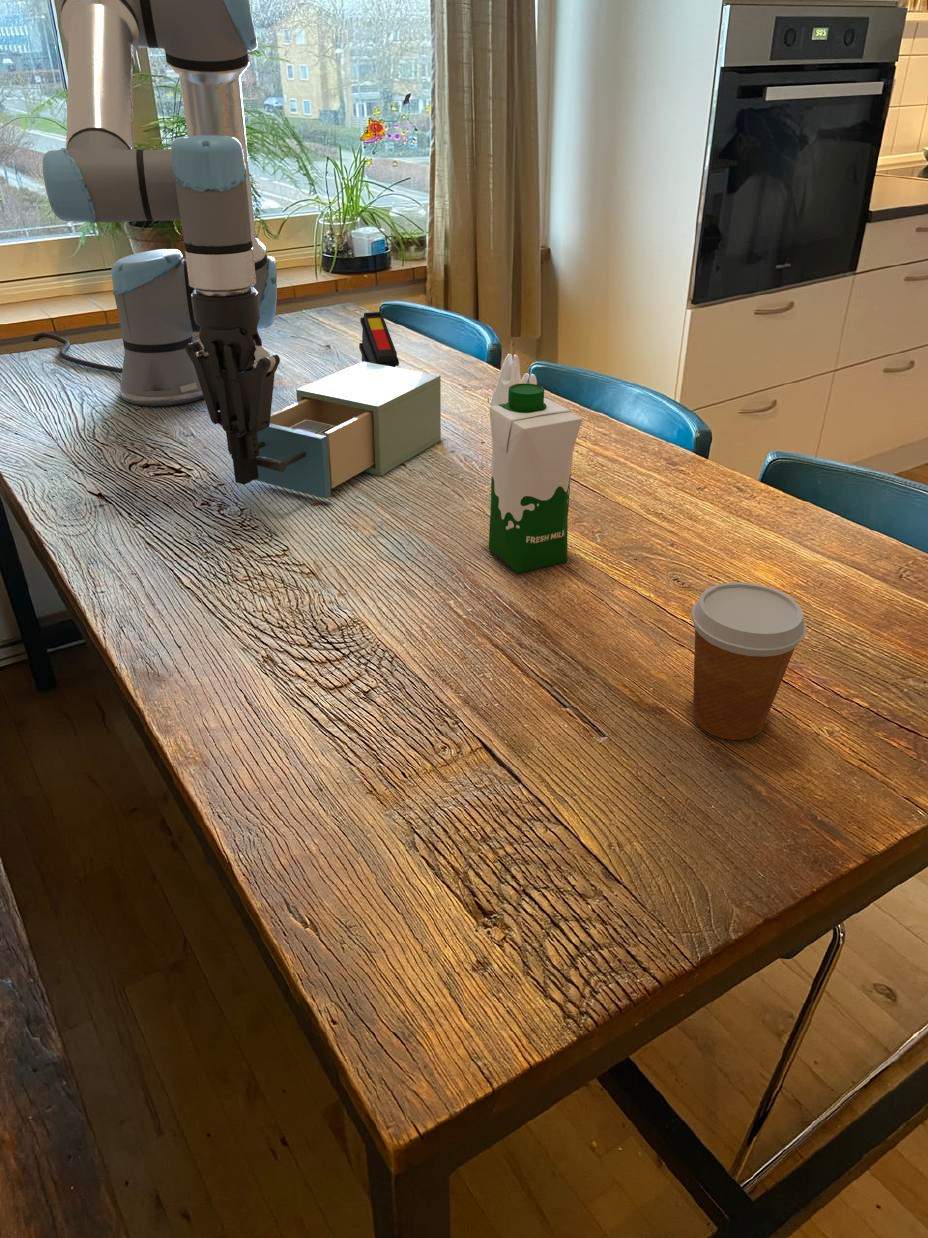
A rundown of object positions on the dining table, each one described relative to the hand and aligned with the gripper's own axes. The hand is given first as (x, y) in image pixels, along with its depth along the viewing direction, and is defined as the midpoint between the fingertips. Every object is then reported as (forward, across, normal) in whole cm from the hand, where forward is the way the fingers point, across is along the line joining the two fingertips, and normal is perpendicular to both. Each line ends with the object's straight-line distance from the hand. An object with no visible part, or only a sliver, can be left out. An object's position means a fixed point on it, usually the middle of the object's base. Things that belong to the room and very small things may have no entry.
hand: (247, 479), depth 117 cm
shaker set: (+5, -14, -49) cm, 51 cm away
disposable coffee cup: (+5, -66, +11) cm, 67 cm away
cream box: (+3, 0, -14) cm, 15 cm away
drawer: (+4, 0, -12) cm, 13 cm away
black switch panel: (+5, +10, -45) cm, 46 cm away
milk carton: (+5, -36, -8) cm, 38 cm away
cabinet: (+5, 0, -28) cm, 28 cm away
